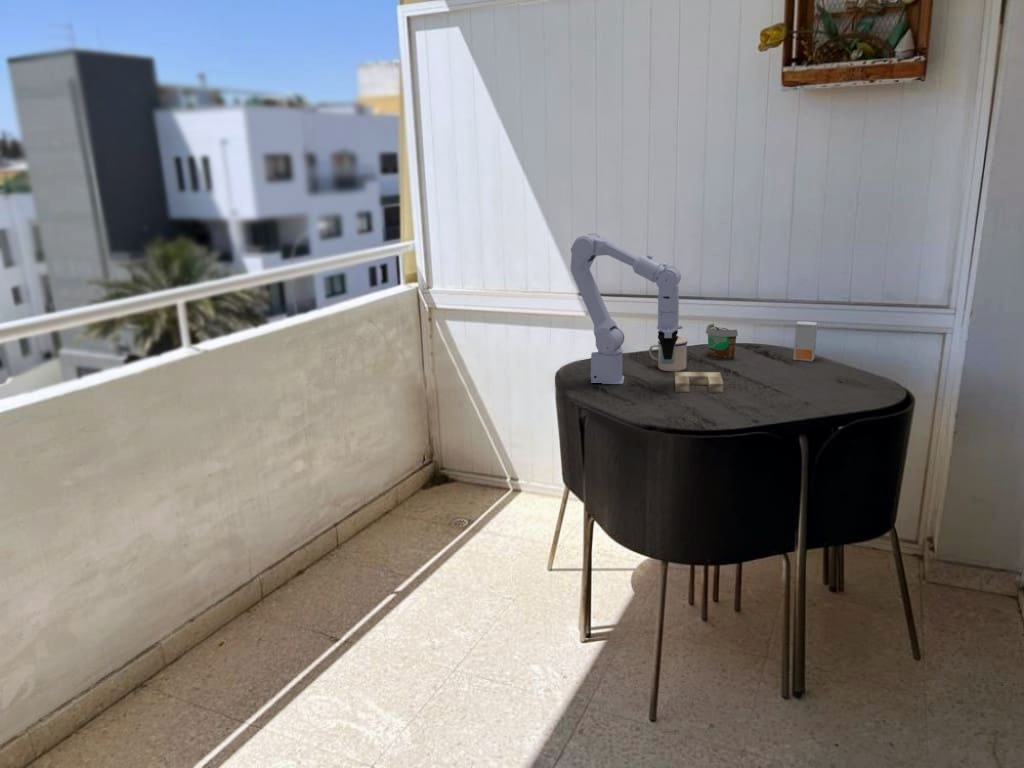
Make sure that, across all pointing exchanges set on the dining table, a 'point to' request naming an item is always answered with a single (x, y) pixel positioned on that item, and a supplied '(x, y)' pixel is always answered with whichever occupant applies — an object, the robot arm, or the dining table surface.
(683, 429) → the dining table surface
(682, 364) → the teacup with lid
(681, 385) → the notched board
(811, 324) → the skincare box
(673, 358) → the teal peg
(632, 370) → the dining table surface
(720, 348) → the food container
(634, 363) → the dining table surface
